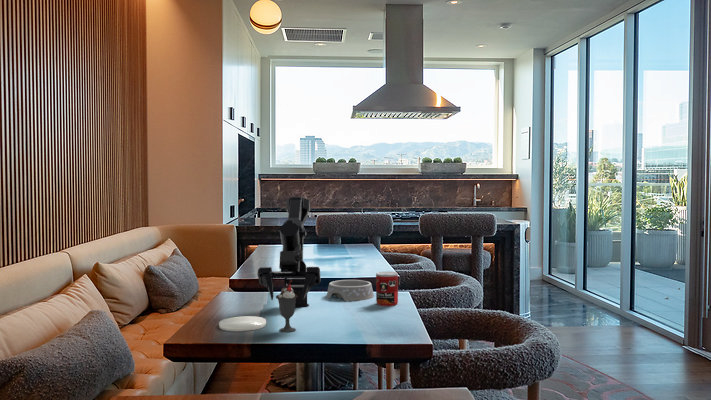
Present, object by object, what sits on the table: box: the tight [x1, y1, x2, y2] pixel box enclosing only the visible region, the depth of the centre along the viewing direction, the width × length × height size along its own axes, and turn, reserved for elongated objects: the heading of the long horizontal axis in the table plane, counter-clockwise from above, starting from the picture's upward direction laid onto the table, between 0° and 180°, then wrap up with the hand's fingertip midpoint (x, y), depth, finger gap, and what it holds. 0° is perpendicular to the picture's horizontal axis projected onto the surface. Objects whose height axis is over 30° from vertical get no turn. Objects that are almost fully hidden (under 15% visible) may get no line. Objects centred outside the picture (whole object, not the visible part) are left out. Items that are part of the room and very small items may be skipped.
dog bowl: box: [326, 279, 375, 302], centre depth 218 cm, size 17×18×5 cm
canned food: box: [375, 271, 399, 307], centre depth 204 cm, size 8×8×11 cm
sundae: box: [275, 280, 299, 333], centre depth 168 cm, size 7×7×15 cm
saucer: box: [218, 315, 267, 332], centre depth 174 cm, size 14×14×1 cm
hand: (287, 298), depth 169 cm, fingers open, 9 cm apart
